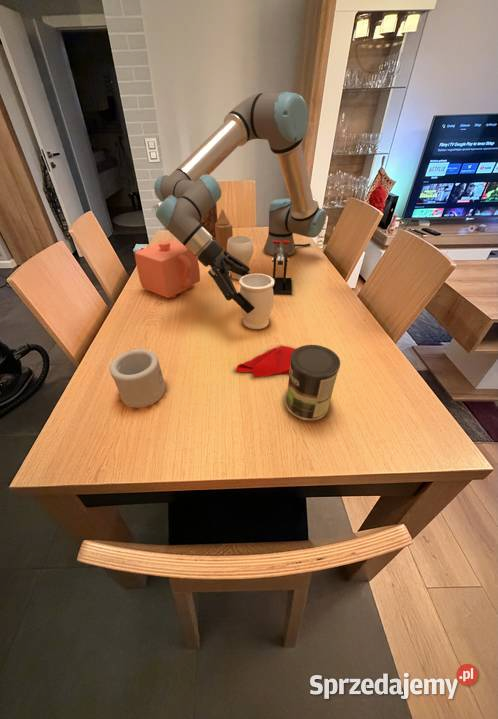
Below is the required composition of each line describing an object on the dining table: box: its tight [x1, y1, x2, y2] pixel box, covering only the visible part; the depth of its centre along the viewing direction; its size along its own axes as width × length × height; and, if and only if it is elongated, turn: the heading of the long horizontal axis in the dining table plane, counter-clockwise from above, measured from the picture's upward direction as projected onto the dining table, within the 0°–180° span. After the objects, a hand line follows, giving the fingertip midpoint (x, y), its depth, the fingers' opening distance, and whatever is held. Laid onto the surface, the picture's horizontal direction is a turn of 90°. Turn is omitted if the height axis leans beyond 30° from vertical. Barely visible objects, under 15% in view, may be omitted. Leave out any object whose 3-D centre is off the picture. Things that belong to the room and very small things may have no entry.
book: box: [199, 203, 218, 240], centre depth 152 cm, size 16×6×25 cm, turn 102°
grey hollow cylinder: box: [109, 348, 166, 409], centre depth 73 cm, size 14×11×10 cm
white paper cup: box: [238, 273, 275, 330], centre depth 94 cm, size 11×10×15 cm
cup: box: [227, 235, 254, 281], centre depth 121 cm, size 11×11×15 cm
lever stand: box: [271, 253, 293, 296], centre depth 114 cm, size 12×10×13 cm
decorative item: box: [215, 207, 234, 253], centre depth 140 cm, size 7×7×20 cm
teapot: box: [134, 239, 201, 299], centre depth 114 cm, size 25×23×18 cm
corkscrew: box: [273, 240, 289, 266], centre depth 113 cm, size 11×6×2 cm, turn 175°
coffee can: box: [285, 344, 341, 422], centre depth 67 cm, size 10×10×14 cm
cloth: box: [235, 345, 296, 378], centre depth 83 cm, size 26×14×2 cm, turn 84°
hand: (255, 299), depth 93 cm, fingers open, 13 cm apart
